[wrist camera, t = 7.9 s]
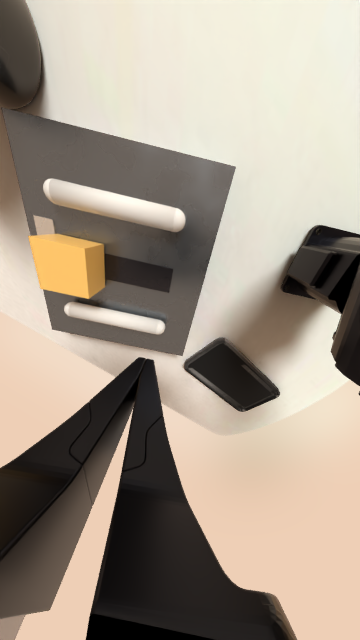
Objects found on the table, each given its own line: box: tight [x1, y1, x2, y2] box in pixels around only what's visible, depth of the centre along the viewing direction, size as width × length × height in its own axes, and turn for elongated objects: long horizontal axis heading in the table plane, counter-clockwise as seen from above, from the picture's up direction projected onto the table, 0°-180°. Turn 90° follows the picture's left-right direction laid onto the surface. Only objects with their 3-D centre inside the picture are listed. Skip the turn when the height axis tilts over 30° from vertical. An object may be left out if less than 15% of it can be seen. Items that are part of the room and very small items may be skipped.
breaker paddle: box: [28, 234, 105, 299], centre depth 14 cm, size 4×4×3 cm
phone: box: [185, 338, 280, 412], centre depth 26 cm, size 8×1×15 cm
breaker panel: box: [2, 108, 236, 356], centre depth 17 cm, size 16×18×3 cm
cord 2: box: [43, 178, 185, 232], centre depth 13 cm, size 11×2×2 cm, turn 79°
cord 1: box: [64, 302, 165, 335], centre depth 18 cm, size 11×2×2 cm, turn 78°
